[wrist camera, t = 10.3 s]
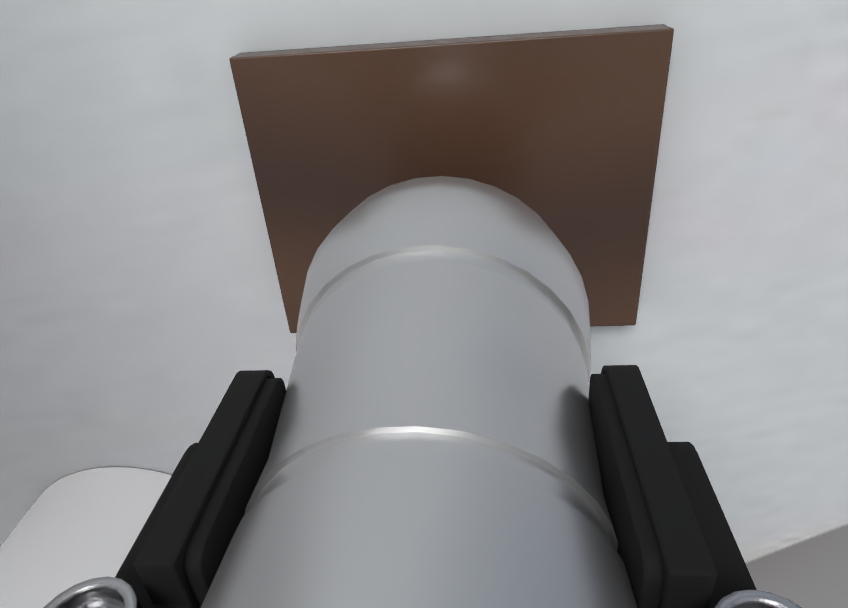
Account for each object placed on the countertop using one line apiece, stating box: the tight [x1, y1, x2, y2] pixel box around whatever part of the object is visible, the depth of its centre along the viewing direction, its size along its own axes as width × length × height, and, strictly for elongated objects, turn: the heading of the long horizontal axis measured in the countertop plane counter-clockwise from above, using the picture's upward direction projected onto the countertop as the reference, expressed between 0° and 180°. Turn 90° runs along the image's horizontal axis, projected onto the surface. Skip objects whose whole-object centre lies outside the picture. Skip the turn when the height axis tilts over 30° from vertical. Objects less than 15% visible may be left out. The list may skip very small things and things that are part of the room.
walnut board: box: [230, 24, 674, 333], centre depth 21 cm, size 10×13×1 cm
